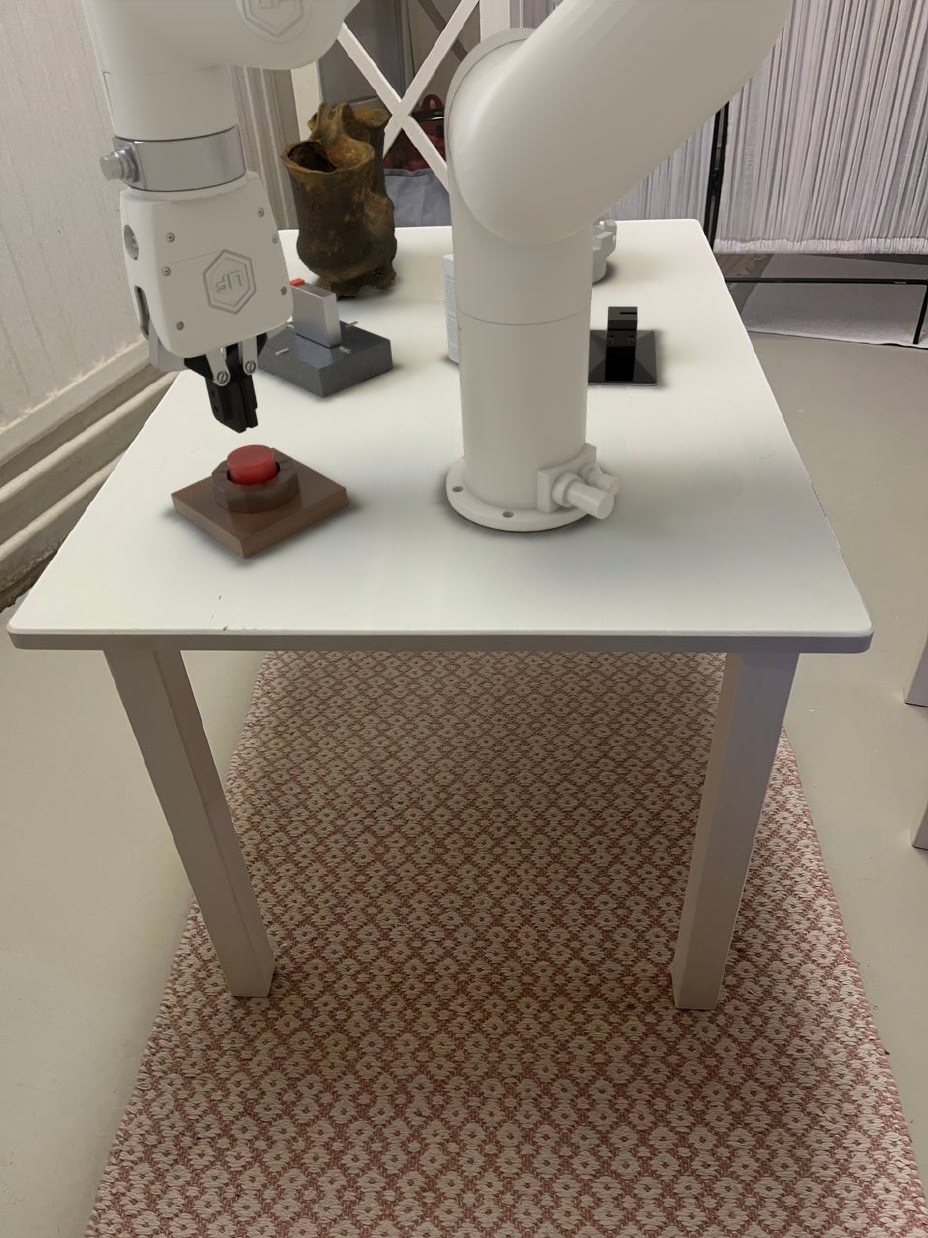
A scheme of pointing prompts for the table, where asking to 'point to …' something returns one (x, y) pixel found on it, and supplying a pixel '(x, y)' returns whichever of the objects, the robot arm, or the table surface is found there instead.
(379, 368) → the dial switch base
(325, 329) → the grey rectangular block
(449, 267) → the small box
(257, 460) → the button
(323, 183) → the pottery vessel
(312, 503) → the button block
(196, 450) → the table surface
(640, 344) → the black stand
